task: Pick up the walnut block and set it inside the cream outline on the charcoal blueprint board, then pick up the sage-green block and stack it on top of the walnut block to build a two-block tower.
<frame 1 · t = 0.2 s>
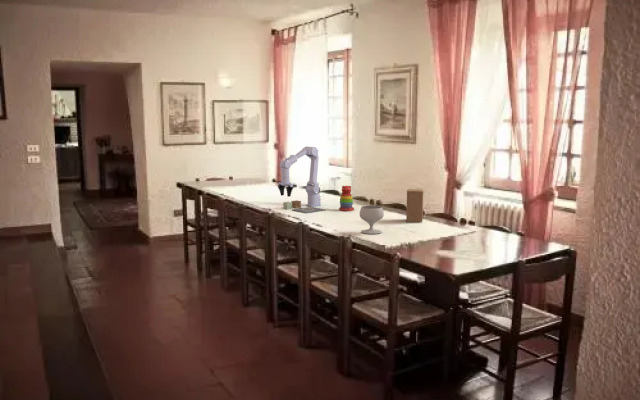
hand: (285, 196, 403), 10 cm above the table, tool pointing down, fingers open, 7 cm apart
walnut block: (296, 207, 412), on the table
chalice: (371, 232, 327), on the table
wooden block: (414, 221, 361), on the table
stacking bear: (346, 210, 401), on the table
sage block: (287, 209, 407), on the table
blueprint board: (308, 210, 401), on the table
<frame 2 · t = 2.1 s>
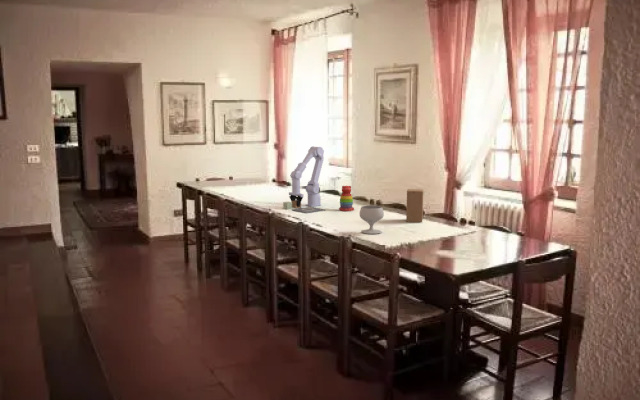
hand: (296, 205, 412), 1 cm above the table, tool pointing down, fingers closed on walnut block, 5 cm apart
walnut block: (296, 207, 412), on the table, touching gripper
everything else where it was.
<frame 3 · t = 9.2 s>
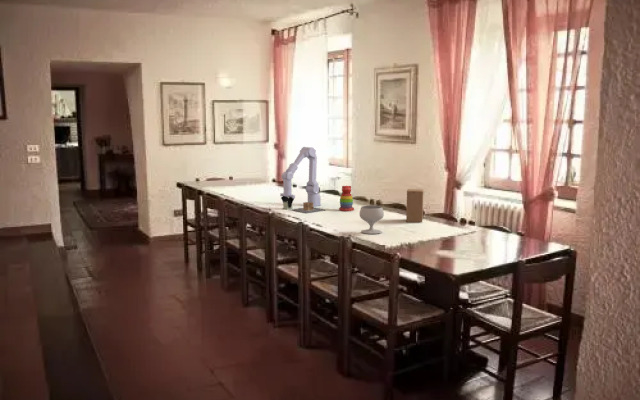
hand: (287, 207, 407), 1 cm above the table, tool pointing down, fingers closed on sage block, 4 cm apart
walnut block: (308, 209, 400), point 1 cm above the table, touching blueprint board
sage block: (287, 208, 407), on the table, touching gripper
everything else where it was.
when the fingers open (8 cm above the table, at t = 12.4 s): sage block stays where it is, resting on walnut block.
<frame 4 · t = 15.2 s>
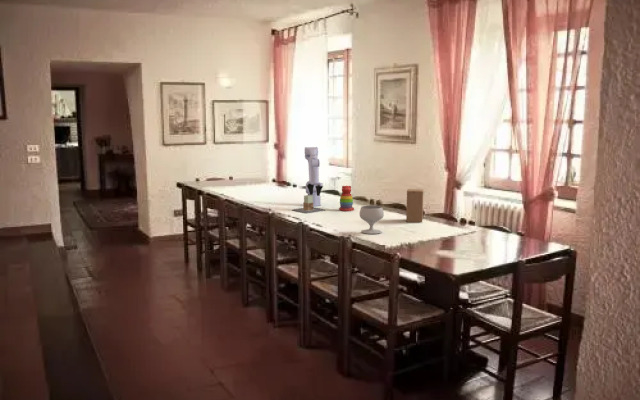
hand: (314, 195, 403), 10 cm above the table, tool pointing down, fingers open, 7 cm apart
walnut block: (308, 209, 400), point 1 cm above the table, touching blueprint board, sage block
sage block: (308, 202, 400), point 6 cm above the table, touching walnut block
everything else where it was.
at the end: walnut block 0.2 cm off-centre on the blueprint board, point 0.6 cm above the blueprint board's base; sage block 0.1 cm off-centre on the walnut block, point 5.0 cm above the walnut block's base; sage block tilted 0° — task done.
